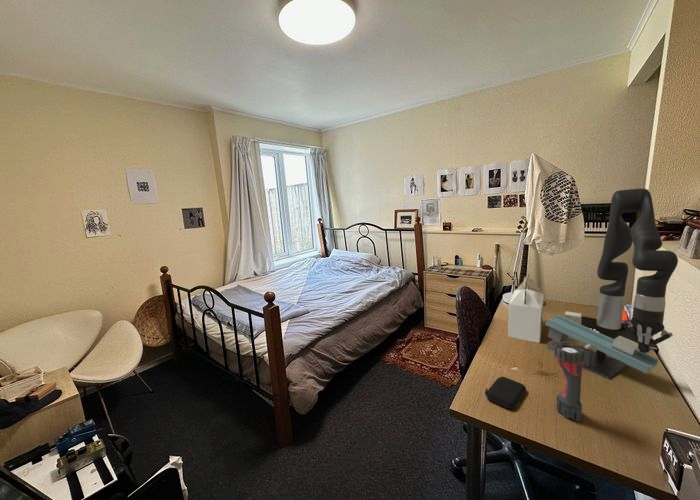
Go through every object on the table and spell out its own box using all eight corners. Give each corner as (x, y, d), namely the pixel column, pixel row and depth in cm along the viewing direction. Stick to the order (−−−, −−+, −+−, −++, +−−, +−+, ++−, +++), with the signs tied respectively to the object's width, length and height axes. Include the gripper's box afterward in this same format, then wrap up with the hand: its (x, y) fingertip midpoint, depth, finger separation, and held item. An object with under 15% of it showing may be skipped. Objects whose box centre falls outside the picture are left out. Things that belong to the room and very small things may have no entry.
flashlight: (550, 399, 100) (554, 339, 96) (579, 407, 95) (584, 344, 91) (550, 414, 94) (554, 350, 89) (581, 423, 89) (587, 356, 85)
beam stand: (560, 341, 135) (561, 325, 134) (627, 366, 114) (629, 347, 113) (541, 350, 129) (542, 334, 127) (608, 379, 108) (610, 360, 106)
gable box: (513, 319, 160) (515, 271, 155) (542, 324, 152) (544, 273, 147) (507, 337, 142) (509, 283, 137) (539, 343, 135) (542, 286, 129)
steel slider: (615, 346, 112) (619, 335, 110) (636, 355, 107) (640, 344, 105) (610, 350, 110) (614, 339, 108) (630, 359, 105) (635, 348, 103)
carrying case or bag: (496, 379, 113) (481, 398, 103) (497, 372, 112) (481, 391, 103) (527, 391, 105) (513, 413, 96) (527, 383, 105) (513, 405, 95)
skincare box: (580, 337, 137) (582, 313, 135) (579, 341, 134) (581, 316, 132) (564, 333, 141) (565, 310, 139) (562, 337, 138) (564, 313, 136)
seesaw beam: (556, 328, 135) (560, 312, 132) (653, 375, 107) (662, 356, 104) (539, 337, 129) (543, 320, 126) (637, 389, 101) (645, 369, 98)
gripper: (680, 309, 96) (674, 356, 99) (628, 298, 108) (624, 341, 111) (672, 315, 93) (665, 364, 96) (619, 303, 104) (615, 347, 107)
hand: (643, 351), depth 103 cm, fingers closed
